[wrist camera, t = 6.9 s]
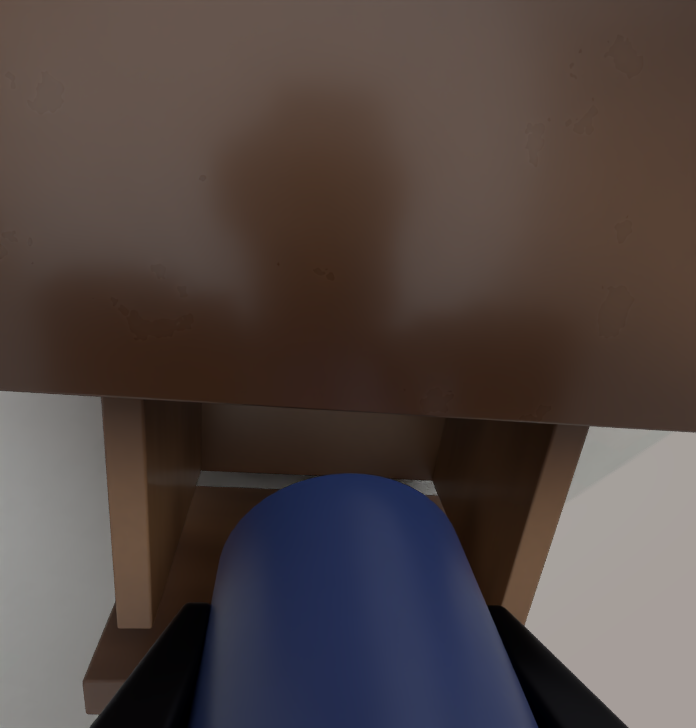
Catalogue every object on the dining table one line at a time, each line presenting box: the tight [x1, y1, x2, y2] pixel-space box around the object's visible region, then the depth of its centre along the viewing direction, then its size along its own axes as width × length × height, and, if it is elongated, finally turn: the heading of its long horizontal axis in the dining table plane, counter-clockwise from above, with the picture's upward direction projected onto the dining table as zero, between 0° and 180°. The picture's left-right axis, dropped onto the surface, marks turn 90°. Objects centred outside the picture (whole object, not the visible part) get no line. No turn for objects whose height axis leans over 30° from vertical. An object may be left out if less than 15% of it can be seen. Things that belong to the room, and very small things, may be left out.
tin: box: [187, 473, 538, 728], centre depth 7 cm, size 5×5×6 cm
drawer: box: [83, 397, 589, 714], centre depth 14 cm, size 16×12×8 cm
